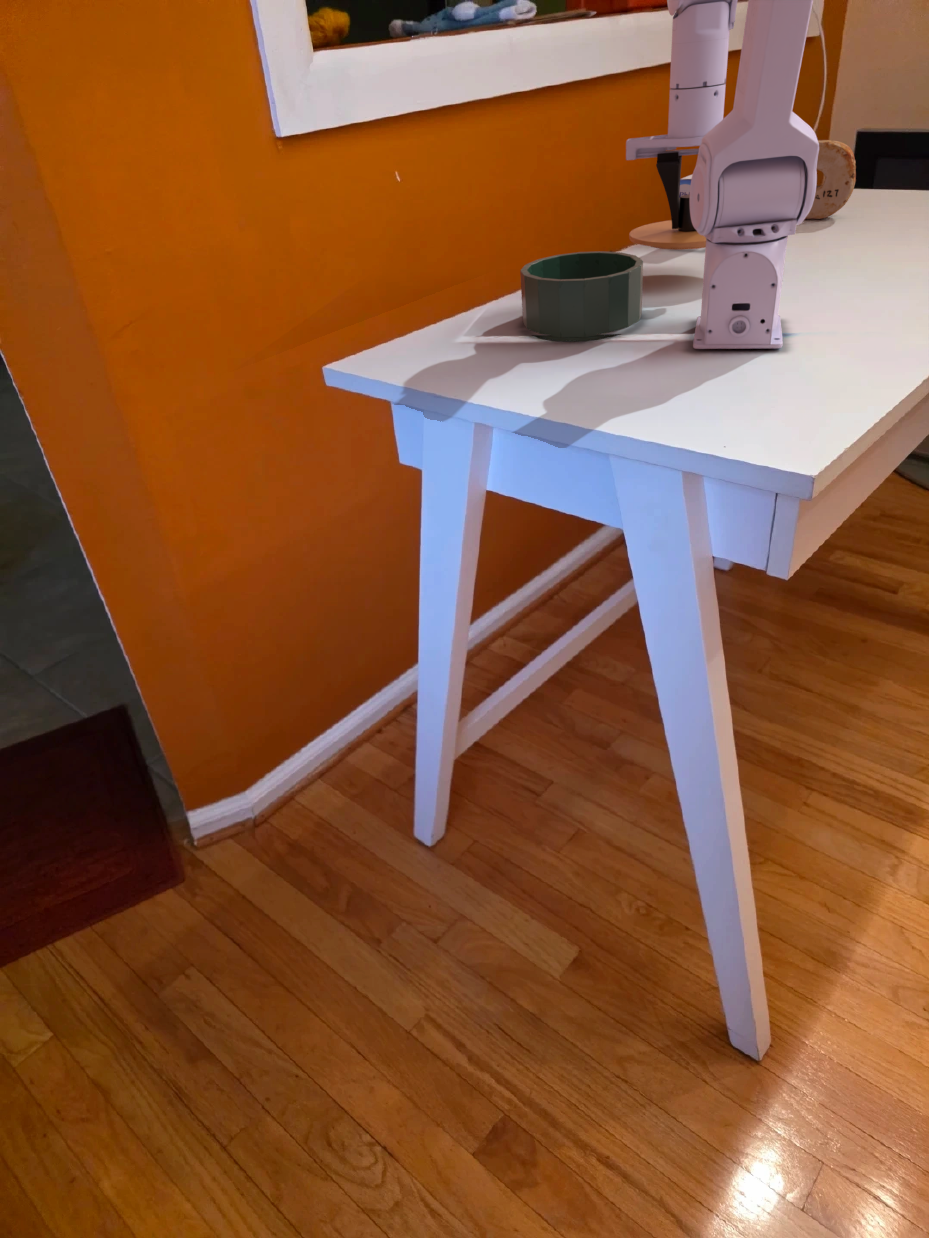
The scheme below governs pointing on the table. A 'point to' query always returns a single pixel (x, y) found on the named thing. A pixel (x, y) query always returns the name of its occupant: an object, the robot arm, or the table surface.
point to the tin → (581, 295)
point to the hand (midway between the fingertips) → (689, 226)
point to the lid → (670, 232)
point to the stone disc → (833, 178)
